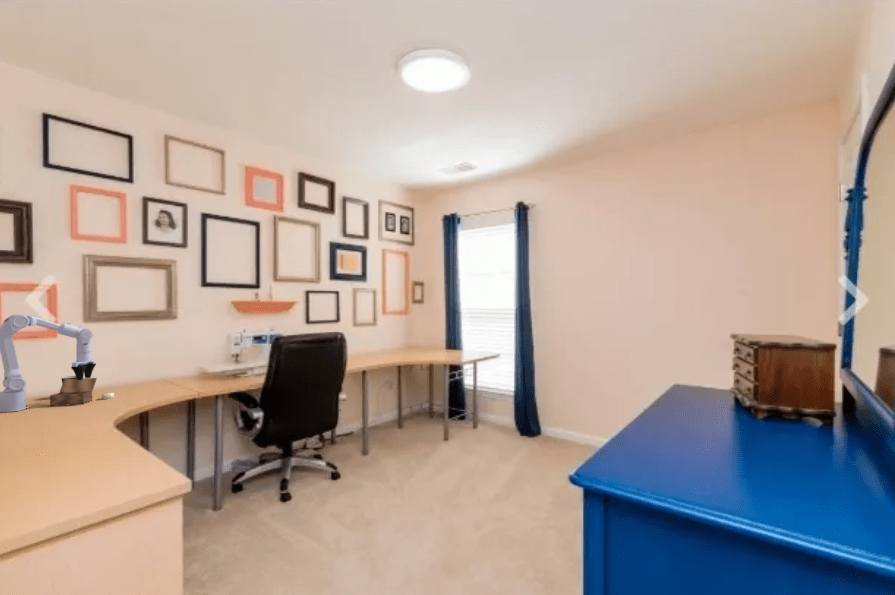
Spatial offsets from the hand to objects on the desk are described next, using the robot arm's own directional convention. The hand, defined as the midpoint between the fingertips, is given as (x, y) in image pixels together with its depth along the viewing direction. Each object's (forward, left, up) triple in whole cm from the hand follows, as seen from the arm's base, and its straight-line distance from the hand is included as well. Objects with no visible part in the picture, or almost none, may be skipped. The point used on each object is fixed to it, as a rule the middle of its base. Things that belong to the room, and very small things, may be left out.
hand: (83, 378), depth 216 cm
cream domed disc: (+11, 0, -11) cm, 15 cm away
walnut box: (0, -9, -10) cm, 14 cm away
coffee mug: (-12, +11, -11) cm, 19 cm away
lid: (0, -4, -2) cm, 5 cm away
